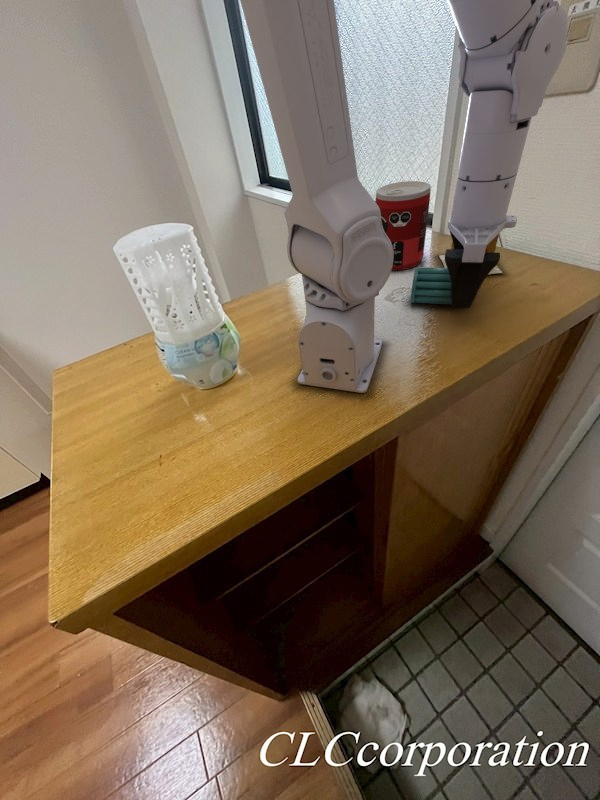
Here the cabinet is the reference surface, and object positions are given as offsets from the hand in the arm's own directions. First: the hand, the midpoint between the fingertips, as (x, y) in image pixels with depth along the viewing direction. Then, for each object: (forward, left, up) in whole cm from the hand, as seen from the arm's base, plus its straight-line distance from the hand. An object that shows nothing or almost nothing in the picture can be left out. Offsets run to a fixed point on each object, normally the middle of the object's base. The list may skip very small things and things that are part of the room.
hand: (461, 293), depth 46 cm
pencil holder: (0, +3, -1) cm, 3 cm away
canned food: (+13, +10, -2) cm, 17 cm away
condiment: (+12, -1, -2) cm, 12 cm away
